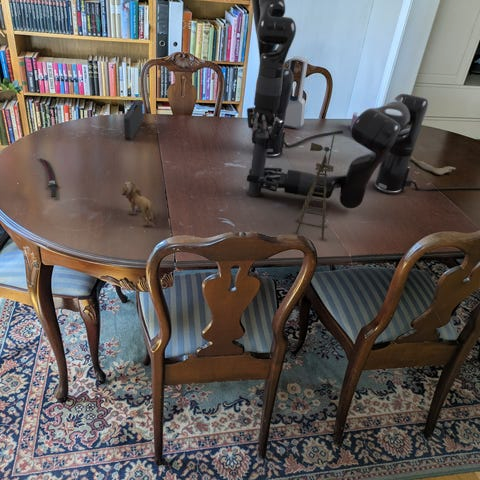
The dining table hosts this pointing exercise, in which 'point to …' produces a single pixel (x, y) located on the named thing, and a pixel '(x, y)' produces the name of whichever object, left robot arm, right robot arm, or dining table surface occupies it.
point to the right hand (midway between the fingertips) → (248, 174)
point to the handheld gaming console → (133, 119)
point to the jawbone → (432, 169)
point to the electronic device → (296, 104)
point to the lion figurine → (137, 201)
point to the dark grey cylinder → (257, 168)
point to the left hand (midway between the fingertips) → (260, 145)
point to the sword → (52, 181)
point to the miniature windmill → (320, 169)
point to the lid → (259, 138)
